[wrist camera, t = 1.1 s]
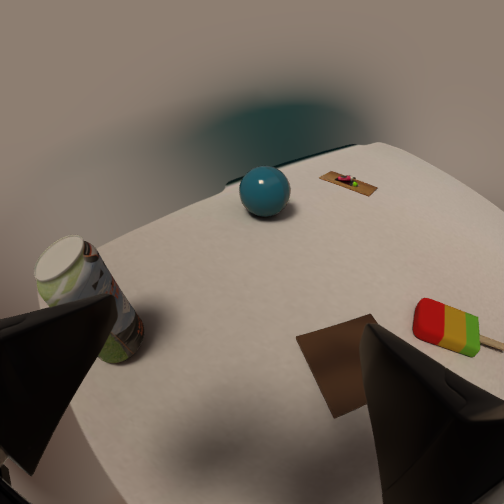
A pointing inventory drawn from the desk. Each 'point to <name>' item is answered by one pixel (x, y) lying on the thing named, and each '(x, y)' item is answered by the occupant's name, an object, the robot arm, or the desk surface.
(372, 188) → the board
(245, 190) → the ball
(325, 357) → the coaster
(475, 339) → the popsicle
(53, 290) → the beverage can
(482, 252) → the desk surface
